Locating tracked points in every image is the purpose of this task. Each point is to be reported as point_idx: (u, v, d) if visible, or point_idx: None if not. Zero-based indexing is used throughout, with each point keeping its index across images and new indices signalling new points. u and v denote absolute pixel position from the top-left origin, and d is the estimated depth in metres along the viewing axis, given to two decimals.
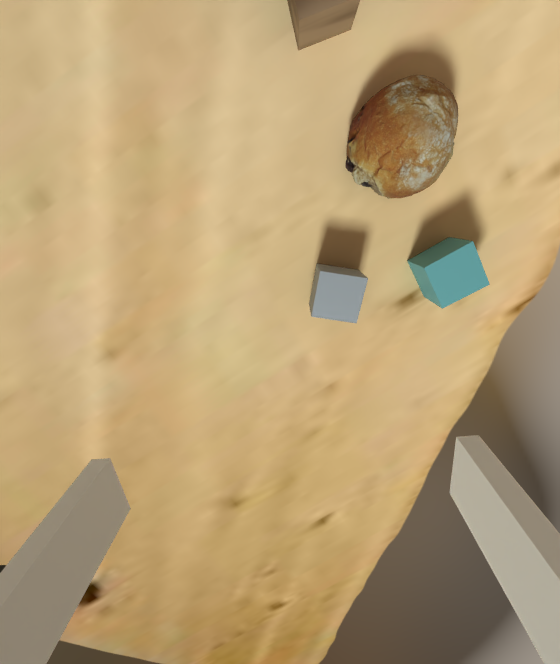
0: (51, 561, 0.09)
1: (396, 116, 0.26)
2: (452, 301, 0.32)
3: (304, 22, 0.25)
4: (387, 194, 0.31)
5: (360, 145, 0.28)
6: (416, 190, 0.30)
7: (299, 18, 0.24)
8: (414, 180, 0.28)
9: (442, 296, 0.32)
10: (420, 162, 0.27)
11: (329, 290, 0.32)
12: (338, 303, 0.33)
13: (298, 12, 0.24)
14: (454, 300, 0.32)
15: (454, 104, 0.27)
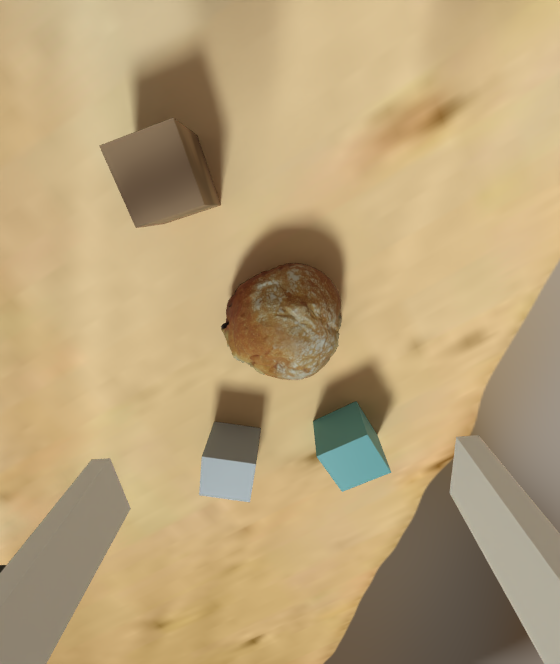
0: (51, 561, 0.09)
1: (259, 326, 0.22)
2: (352, 486, 0.29)
3: (145, 225, 0.21)
4: None
5: (231, 338, 0.25)
6: None
7: (136, 225, 0.21)
8: (293, 377, 0.25)
9: (340, 481, 0.29)
10: (293, 367, 0.24)
11: (215, 473, 0.29)
12: (227, 484, 0.29)
13: (133, 220, 0.20)
14: (354, 485, 0.29)
15: (329, 307, 0.23)
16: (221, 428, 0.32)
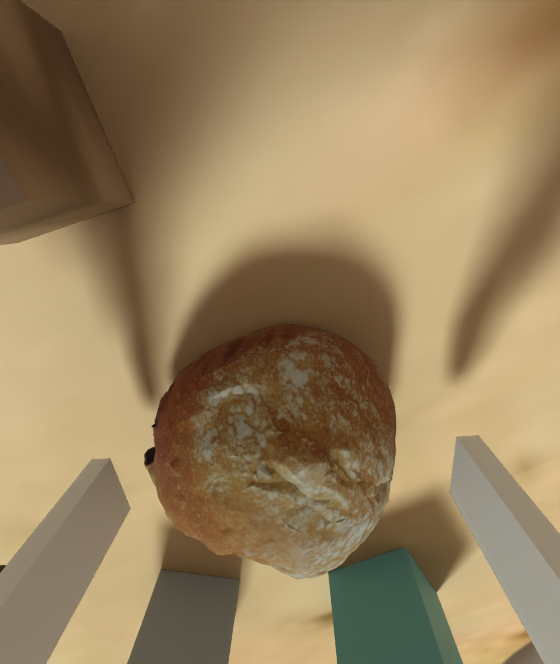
0: (51, 561, 0.09)
1: (210, 503, 0.09)
2: None
3: None
4: None
5: (159, 492, 0.11)
6: None
7: None
8: None
9: None
10: None
11: None
12: None
13: None
14: None
15: (380, 447, 0.10)
16: (170, 587, 0.18)
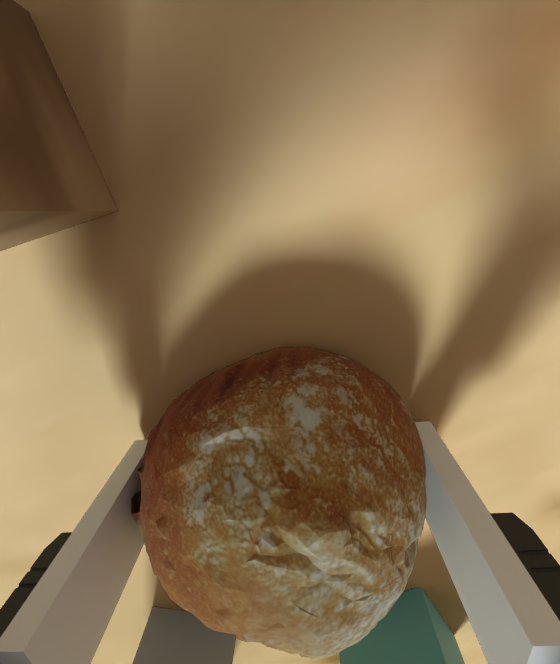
0: (112, 528, 0.10)
1: (203, 577, 0.07)
2: None
3: None
4: None
5: (146, 547, 0.10)
6: None
7: None
8: None
9: None
10: None
11: None
12: None
13: None
14: None
15: (410, 503, 0.08)
16: (162, 628, 0.17)
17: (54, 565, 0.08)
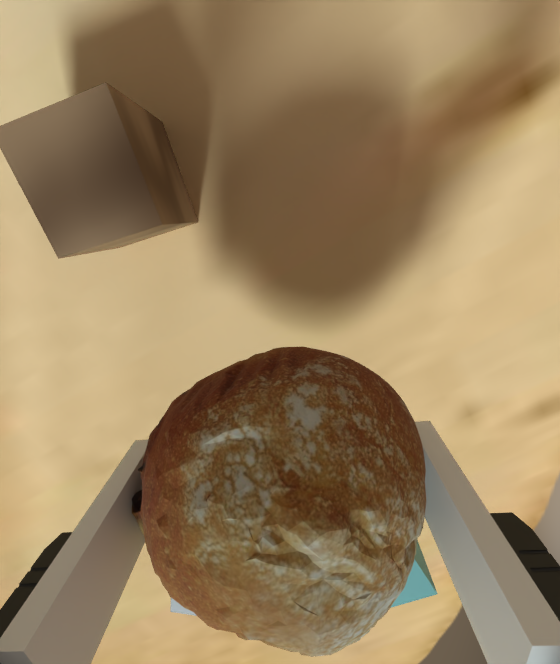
0: (112, 528, 0.10)
1: (203, 575, 0.07)
2: None
3: (77, 254, 0.14)
4: None
5: (147, 546, 0.10)
6: None
7: (59, 254, 0.13)
8: None
9: None
10: None
11: None
12: None
13: (54, 247, 0.13)
14: None
15: (410, 502, 0.08)
16: None
17: (54, 565, 0.08)
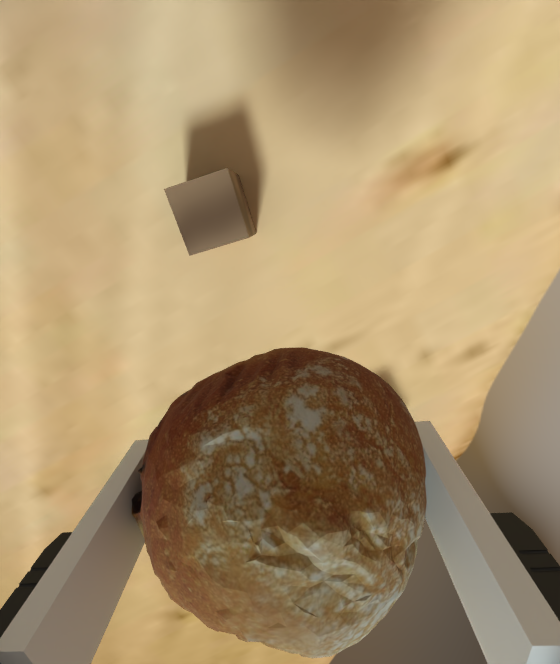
0: (112, 528, 0.10)
1: (204, 576, 0.07)
2: None
3: None
4: None
5: (147, 547, 0.10)
6: None
7: (189, 253, 0.24)
8: None
9: None
10: None
11: None
12: None
13: (188, 249, 0.24)
14: None
15: (410, 504, 0.08)
16: None
17: (54, 565, 0.08)
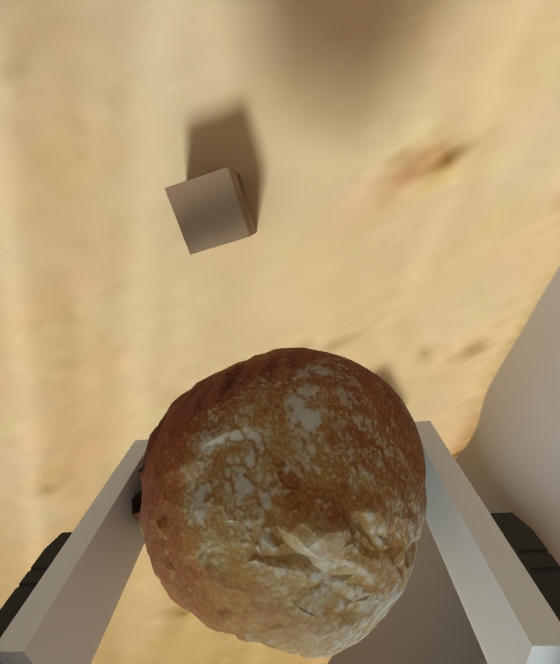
0: (111, 529, 0.10)
1: (204, 576, 0.07)
2: None
3: None
4: None
5: (147, 547, 0.10)
6: None
7: (190, 252, 0.25)
8: None
9: None
10: None
11: None
12: None
13: (188, 248, 0.24)
14: None
15: (410, 504, 0.08)
16: None
17: (54, 565, 0.08)
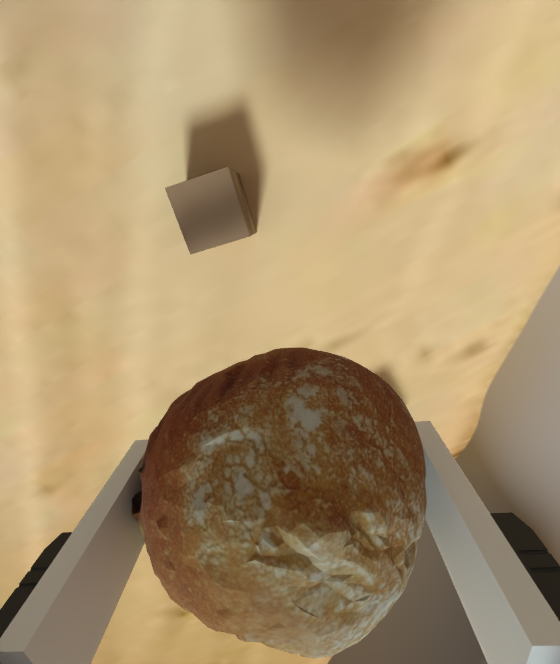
0: (111, 529, 0.10)
1: (204, 576, 0.07)
2: None
3: None
4: None
5: (147, 547, 0.10)
6: None
7: (190, 252, 0.24)
8: None
9: None
10: None
11: None
12: None
13: (188, 248, 0.24)
14: None
15: (410, 504, 0.08)
16: None
17: (54, 565, 0.08)
